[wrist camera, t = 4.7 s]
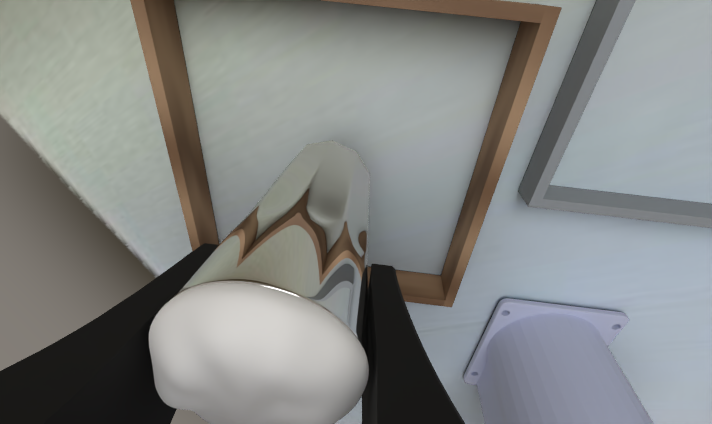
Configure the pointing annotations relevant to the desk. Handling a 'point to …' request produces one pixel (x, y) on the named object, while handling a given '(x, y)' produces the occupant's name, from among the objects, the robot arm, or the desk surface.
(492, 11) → the brown wooden frame
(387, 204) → the desk surface
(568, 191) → the grey square frame
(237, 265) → the milkshake
